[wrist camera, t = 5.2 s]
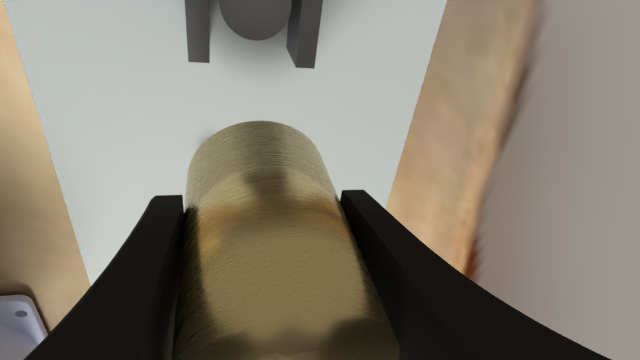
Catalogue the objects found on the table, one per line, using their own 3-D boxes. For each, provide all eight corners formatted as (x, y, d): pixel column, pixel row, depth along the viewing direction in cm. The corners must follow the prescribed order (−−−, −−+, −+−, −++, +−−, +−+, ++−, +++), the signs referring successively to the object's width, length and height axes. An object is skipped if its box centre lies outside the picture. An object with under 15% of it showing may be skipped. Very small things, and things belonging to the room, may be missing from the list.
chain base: (360, 263, 23) (377, 304, 21) (99, 284, 20) (84, 337, 17) (485, -190, 12) (553, -210, 10) (-78, -335, 8) (-192, -424, 6)
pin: (315, 228, 13) (373, 416, 8) (191, 234, 12) (178, 452, 7) (333, 121, 11) (426, 299, 6) (181, 119, 10) (155, 328, 5)
